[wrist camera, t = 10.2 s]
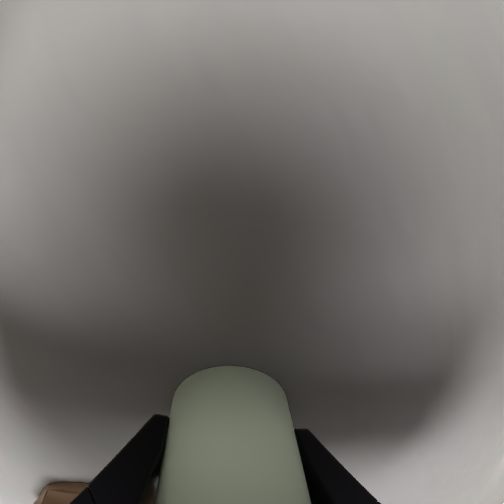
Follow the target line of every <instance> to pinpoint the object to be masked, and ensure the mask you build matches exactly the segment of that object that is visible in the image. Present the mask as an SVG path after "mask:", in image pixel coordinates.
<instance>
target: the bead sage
mask: <svg viewBox="0 0 504 504" xmlns="http://www.w3.org/2000/svg"><path fill="white" fill-rule="evenodd" d="M155 504H311V501H310V496H309V492H308V488H307V483H306V479H305V475H304V470H303V466H302V462H301V457H300V453H299V449H298V444H297V440H296V436H295V432H294V427H293V423H292V419H291V414H290V410H289V406H288V401H287V397H286V394H285V392H284V390H283V388H282V387H281V386H280V385H279V384H278V383H277V382H276V381H275V380H274V379H273V378H271V377H270V376H268V375H266V374H264V373H262V372H260V371H257V370H254V369H250V368H246V367H240V366H219V367H212V368H208V369H204V370H201V371H199V372H196V373H194V374H192V375H191V376H189V377H187V378H186V379H185V380H184V381H183V382H182V383H181V384H180V385H179V386H178V388H177V389H176V391H175V393H174V396H173V401H172V406H171V411H170V417H169V423H168V428H167V434H166V439H165V445H164V451H163V456H162V461H161V466H160V472H159V478H158V485H157V491H156V497H155Z"/></svg>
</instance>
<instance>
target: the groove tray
mask: <svg viewBox="0 0 504 504" xmlns="http://www.w3.org/2000/svg"><path fill="white" fill-rule="evenodd" d="M85 487H88V483H75V482H61V483H53V484H50V485H47V486H46V487H44V488H43V490H42V492H41V494H40V497H39V498H38V499H37V500H36V501H35V502H34V504H69V503H70V502H71V501H72V500H73V499H74V498H75V497H76V496H77V495H78V494H79V493H80V492H81V491H82V490H83V489H84V488H85ZM88 488H89V487H88Z"/></svg>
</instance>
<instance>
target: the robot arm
mask: <svg viewBox="0 0 504 504" xmlns="http://www.w3.org/2000/svg"><path fill="white" fill-rule="evenodd" d="M168 423H169V417H168V416H166V415H160V414H154V415H153V416H152V417H151V418H150V419H149V421H148V422H147V423H146V424H145V425H144V426H143V427H142V428H141V429H140V430H139V431H138V433H137V434H136V435H135V436H134V437H133V438H132V439H131V440H130V441H129V442H128V443H127V444H126V446H125V447H124V448H123V449H122V450H121V451H120V452H119V453H118V454H117V455H116V456H115V457H114V458H113V459H112V460H111V461H110V463H109V464H108V465H107V466H106V467H105V468H104V469H103V470H102V471H101V472H100V473H99V474H98V475H97V476H96V477H95V478H94V479H93V480H92V481H91V482H90V483H89V484H88V487H89V488H88V487H85V488H84V489H83V490H82V491H81V492H80V493H79V494H78V495H77V496H76V497H75V498H74V499H73V500H72V501H71V502H70V503H69V504H155V497H156V491H157V485H158V478H159V472H160V466H161V461H162V456H163V451H164V445H165V439H166V434H167V428H168ZM294 432H295V436H296V440H297V444H298V449H299V453H300V457H301V462H302V466H303V470H304V475H305V479H306V483H307V488H308V492H309V496H310V501H311V504H381V503H380V502H377V500H376V499H375V498H374V497H373V496H372V495H371V494H370V493H369V492H368V491H367V490H366V489H365V488H364V487H363V486H362V485H361V484H360V483H359V482H358V481H357V480H356V479H355V478H354V477H353V476H352V475H351V474H350V473H349V472H348V471H347V470H346V469H345V468H344V467H343V466H342V465H341V464H340V463H339V462H338V461H337V459H336V458H335V457H334V456H333V455H332V454H331V453H330V452H329V451H328V450H327V449H326V448H325V447H324V446H323V445H322V444H321V443H320V441H319V440H318V439H317V438H316V437H315V436H314V435H313V434H312V433H311V432H310V431H309V430H308V429H294Z"/></svg>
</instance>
